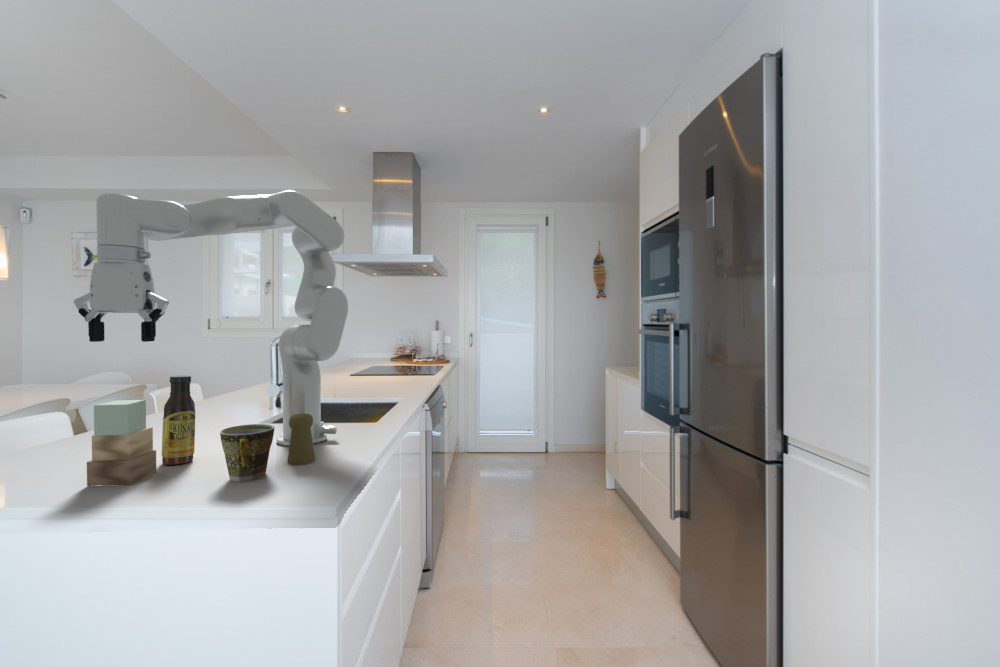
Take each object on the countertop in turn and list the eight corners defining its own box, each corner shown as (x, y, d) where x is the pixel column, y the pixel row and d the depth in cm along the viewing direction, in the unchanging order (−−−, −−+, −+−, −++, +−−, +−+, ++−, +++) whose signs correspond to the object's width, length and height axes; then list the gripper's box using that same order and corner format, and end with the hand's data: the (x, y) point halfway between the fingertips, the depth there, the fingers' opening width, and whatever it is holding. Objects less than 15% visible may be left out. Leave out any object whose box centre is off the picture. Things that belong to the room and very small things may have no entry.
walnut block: (156, 473, 101) (156, 450, 101) (131, 486, 93) (131, 460, 93) (115, 474, 100) (115, 451, 100) (87, 487, 92) (86, 462, 92)
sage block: (146, 428, 99) (145, 399, 99) (127, 434, 93) (127, 404, 93) (114, 429, 98) (114, 400, 98) (94, 435, 92) (93, 405, 92)
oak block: (152, 450, 100) (152, 427, 100) (129, 460, 93) (129, 434, 93) (117, 451, 100) (117, 427, 99) (92, 460, 93) (91, 435, 92)
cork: (320, 458, 112) (319, 411, 112) (307, 465, 106) (306, 416, 106) (295, 457, 112) (295, 411, 112) (281, 464, 106) (281, 416, 106)
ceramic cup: (225, 472, 101) (224, 425, 101) (276, 467, 104) (276, 422, 104) (212, 492, 89) (212, 439, 88) (271, 486, 92) (270, 435, 92)
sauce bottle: (167, 468, 104) (166, 378, 103) (157, 463, 107) (156, 376, 107) (200, 461, 109) (199, 375, 109) (189, 456, 113) (189, 373, 112)
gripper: (177, 260, 100) (178, 340, 100) (89, 259, 98) (90, 340, 99) (155, 255, 93) (156, 342, 93) (59, 253, 91) (61, 342, 91)
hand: (122, 341), depth 96 cm, fingers open, 9 cm apart
